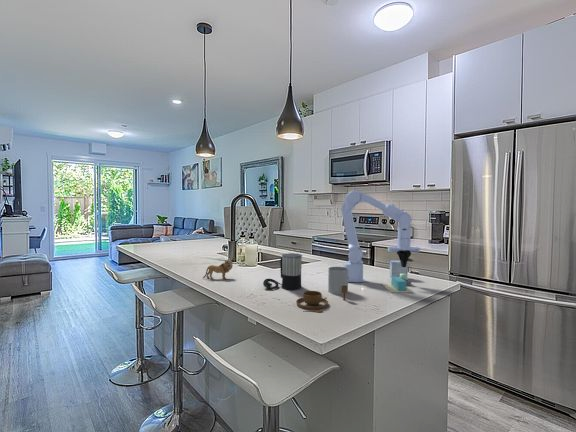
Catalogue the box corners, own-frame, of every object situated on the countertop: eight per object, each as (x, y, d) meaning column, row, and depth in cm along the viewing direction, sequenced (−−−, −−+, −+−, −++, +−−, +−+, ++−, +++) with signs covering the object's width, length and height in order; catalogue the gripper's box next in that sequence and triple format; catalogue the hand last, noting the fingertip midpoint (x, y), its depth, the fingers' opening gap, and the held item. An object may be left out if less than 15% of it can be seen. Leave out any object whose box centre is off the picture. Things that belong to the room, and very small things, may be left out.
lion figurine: (232, 276, 167) (232, 259, 166) (233, 278, 161) (233, 260, 161) (202, 277, 163) (202, 260, 163) (202, 280, 158) (202, 262, 158)
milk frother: (306, 287, 146) (306, 254, 145) (281, 294, 134) (281, 259, 134) (284, 282, 156) (284, 251, 155) (259, 288, 144) (259, 255, 144)
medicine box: (405, 277, 166) (405, 260, 166) (407, 279, 162) (407, 262, 162) (389, 277, 167) (389, 260, 167) (391, 279, 163) (391, 261, 162)
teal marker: (398, 290, 140) (398, 281, 140) (390, 284, 151) (390, 275, 151) (406, 290, 140) (406, 281, 140) (397, 284, 151) (397, 275, 151)
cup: (349, 290, 142) (349, 267, 141) (346, 295, 134) (346, 271, 133) (330, 288, 144) (330, 266, 144) (326, 293, 137) (326, 269, 136)
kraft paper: (390, 292, 138) (390, 291, 138) (382, 285, 150) (382, 284, 150) (411, 292, 138) (411, 291, 138) (401, 285, 150) (401, 284, 150)
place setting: (297, 298, 131) (297, 284, 130) (347, 299, 129) (347, 285, 129) (295, 313, 113) (295, 296, 113) (353, 314, 112) (353, 298, 111)
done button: (401, 281, 151) (401, 274, 151) (398, 279, 154) (398, 273, 154) (407, 281, 151) (408, 274, 151) (405, 279, 154) (405, 273, 154)
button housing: (399, 285, 150) (399, 281, 150) (395, 282, 155) (395, 278, 155) (410, 285, 150) (410, 281, 150) (406, 282, 155) (406, 278, 155)
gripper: (391, 239, 147) (391, 268, 148) (423, 239, 148) (422, 268, 148) (386, 237, 155) (386, 265, 155) (416, 237, 155) (416, 265, 155)
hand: (403, 266), depth 152 cm, fingers closed
